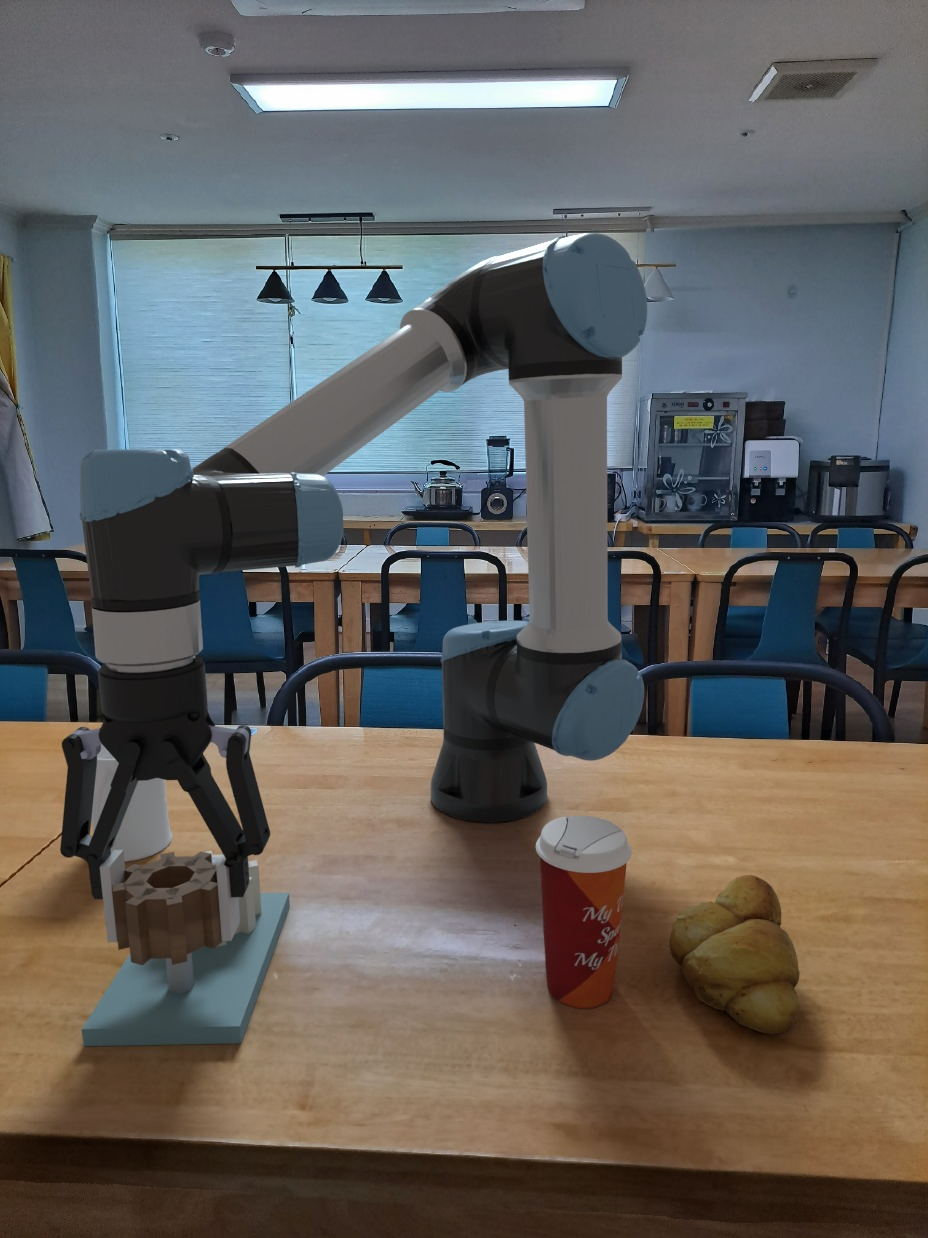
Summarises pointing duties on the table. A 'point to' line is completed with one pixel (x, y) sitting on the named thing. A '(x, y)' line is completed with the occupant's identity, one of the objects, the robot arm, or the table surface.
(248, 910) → the cream gear
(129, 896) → the walnut gear
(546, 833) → the paper cup
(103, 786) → the mug
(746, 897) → the bread roll
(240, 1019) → the gear board
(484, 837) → the table surface
